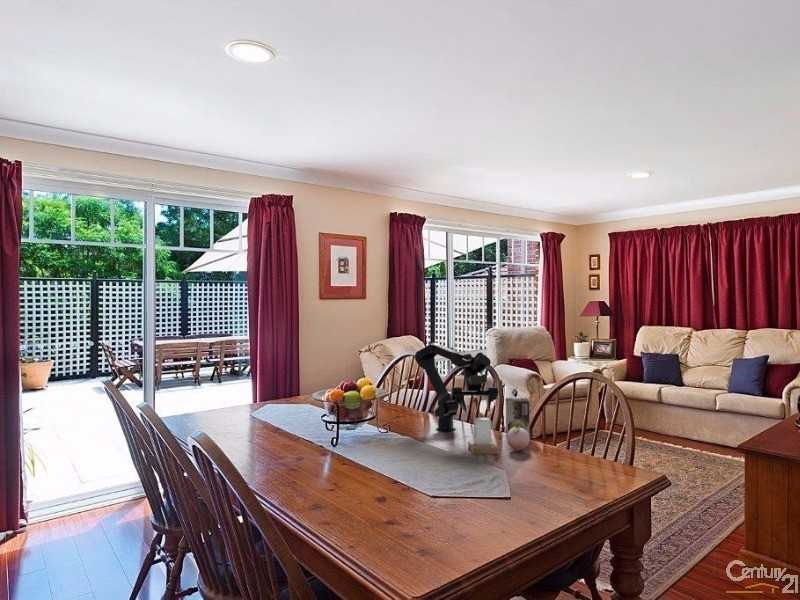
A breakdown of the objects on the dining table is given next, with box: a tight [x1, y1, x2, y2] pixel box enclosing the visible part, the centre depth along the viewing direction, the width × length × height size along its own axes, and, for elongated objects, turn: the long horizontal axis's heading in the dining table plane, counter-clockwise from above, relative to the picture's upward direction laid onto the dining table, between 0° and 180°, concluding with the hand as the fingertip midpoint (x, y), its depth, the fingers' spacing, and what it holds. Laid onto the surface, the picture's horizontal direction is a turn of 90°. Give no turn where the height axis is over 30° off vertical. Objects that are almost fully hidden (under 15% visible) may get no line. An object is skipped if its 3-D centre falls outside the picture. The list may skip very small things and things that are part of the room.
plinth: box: [467, 440, 498, 456], centre depth 193 cm, size 9×9×2 cm
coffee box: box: [505, 397, 531, 441], centre depth 211 cm, size 9×6×16 cm
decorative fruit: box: [506, 425, 530, 452], centre depth 192 cm, size 9×8×10 cm
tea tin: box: [473, 417, 492, 446], centre depth 193 cm, size 4×6×10 cm
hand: (477, 411), depth 200 cm, fingers open, 9 cm apart
